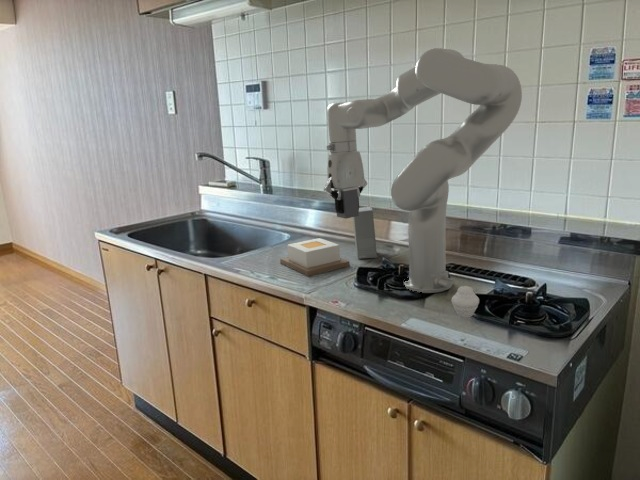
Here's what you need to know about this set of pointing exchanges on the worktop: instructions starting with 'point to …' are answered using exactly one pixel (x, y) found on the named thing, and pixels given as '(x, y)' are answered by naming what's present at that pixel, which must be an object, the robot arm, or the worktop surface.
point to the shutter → (312, 245)
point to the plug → (349, 203)
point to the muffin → (465, 301)
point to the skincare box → (365, 233)
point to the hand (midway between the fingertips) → (347, 210)
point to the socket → (314, 257)
